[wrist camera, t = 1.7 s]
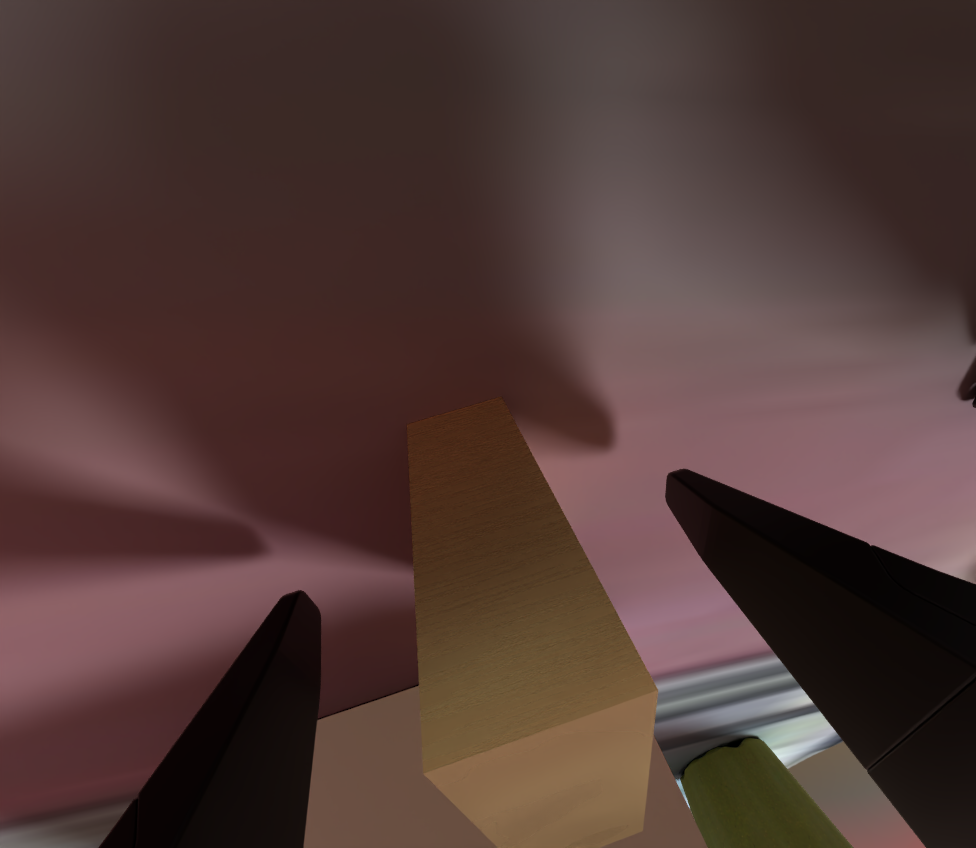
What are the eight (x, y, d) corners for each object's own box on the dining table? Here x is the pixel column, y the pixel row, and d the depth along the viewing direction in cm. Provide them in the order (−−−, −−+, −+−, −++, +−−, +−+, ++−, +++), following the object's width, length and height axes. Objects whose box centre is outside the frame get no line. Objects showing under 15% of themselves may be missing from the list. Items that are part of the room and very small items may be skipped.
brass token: (501, 395, 8) (658, 690, 3) (536, 558, 12) (642, 830, 7) (406, 423, 8) (423, 773, 3) (469, 580, 12) (526, 876, 6)
